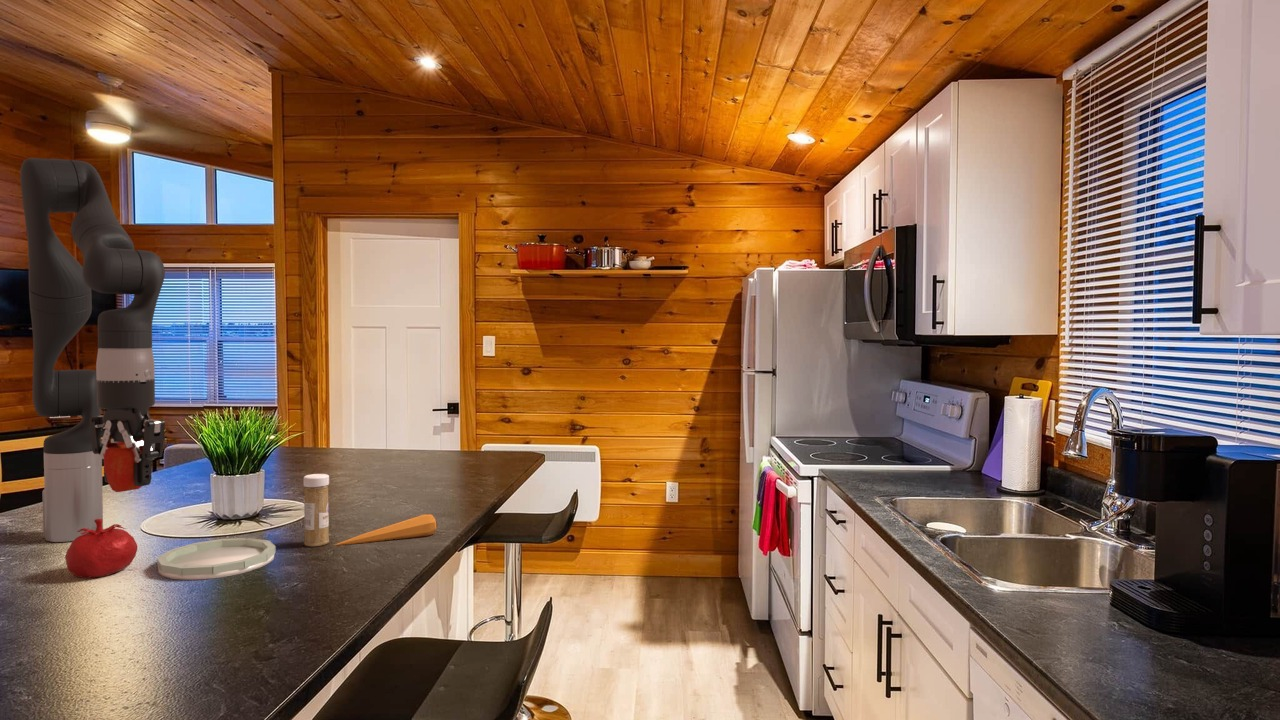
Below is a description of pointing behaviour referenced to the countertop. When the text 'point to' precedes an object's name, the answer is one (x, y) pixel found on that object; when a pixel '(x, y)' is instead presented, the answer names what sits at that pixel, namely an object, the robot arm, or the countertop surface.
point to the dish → (215, 558)
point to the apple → (120, 468)
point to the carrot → (398, 530)
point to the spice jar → (316, 509)
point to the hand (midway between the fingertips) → (127, 483)
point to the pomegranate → (100, 551)
